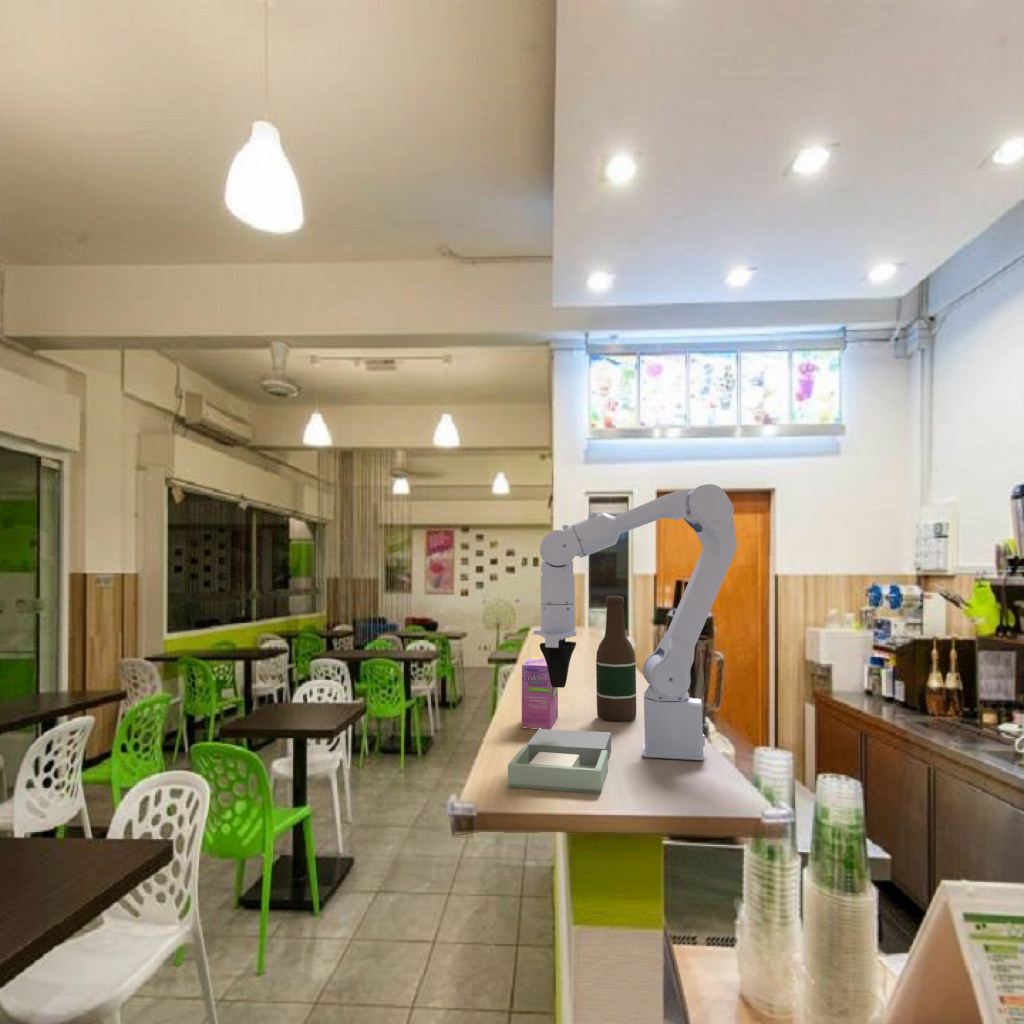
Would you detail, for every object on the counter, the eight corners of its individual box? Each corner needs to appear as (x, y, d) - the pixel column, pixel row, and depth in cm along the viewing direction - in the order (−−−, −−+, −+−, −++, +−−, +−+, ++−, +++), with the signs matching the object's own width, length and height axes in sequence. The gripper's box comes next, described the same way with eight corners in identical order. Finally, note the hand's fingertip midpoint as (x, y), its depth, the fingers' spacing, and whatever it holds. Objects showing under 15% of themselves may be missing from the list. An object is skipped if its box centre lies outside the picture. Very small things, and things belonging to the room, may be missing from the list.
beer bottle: (636, 714, 139) (634, 595, 140) (636, 723, 131) (634, 597, 133) (597, 712, 140) (596, 595, 142) (595, 721, 132) (594, 597, 134)
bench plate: (611, 751, 112) (610, 732, 112) (605, 769, 102) (605, 748, 102) (539, 746, 115) (539, 728, 115) (527, 764, 105) (526, 744, 105)
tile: (571, 766, 94) (571, 785, 94) (579, 754, 99) (579, 772, 99) (529, 763, 95) (529, 781, 95) (539, 751, 101) (539, 769, 101)
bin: (608, 769, 102) (607, 749, 102) (600, 793, 92) (600, 770, 92) (524, 764, 105) (524, 744, 105) (508, 786, 95) (508, 764, 95)
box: (551, 730, 126) (550, 665, 127) (521, 728, 127) (520, 664, 128) (559, 717, 136) (558, 657, 137) (530, 716, 138) (530, 656, 138)
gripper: (541, 600, 121) (541, 678, 121) (526, 606, 107) (526, 694, 106) (581, 601, 120) (581, 679, 119) (570, 606, 106) (571, 695, 105)
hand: (558, 686), depth 113 cm, fingers closed
